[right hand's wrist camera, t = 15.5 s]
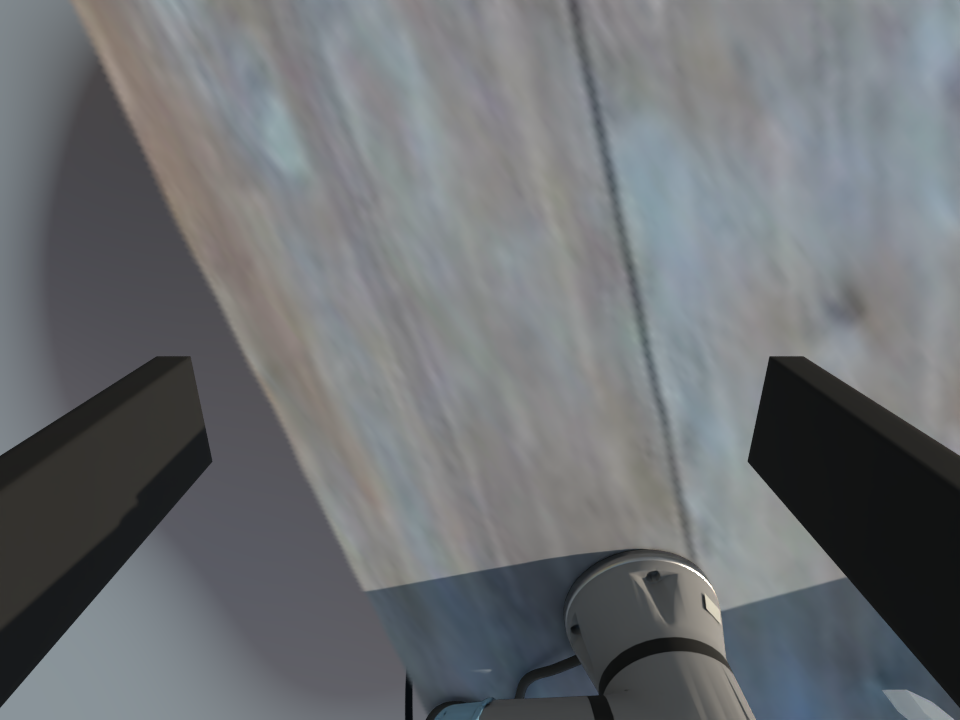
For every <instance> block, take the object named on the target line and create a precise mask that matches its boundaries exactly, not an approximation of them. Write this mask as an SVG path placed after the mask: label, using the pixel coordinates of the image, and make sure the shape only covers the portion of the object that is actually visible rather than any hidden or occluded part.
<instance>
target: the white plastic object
mask: <svg viewBox="0 0 960 720" xmlns="http://www.w3.org/2000/svg"><path fill="white" fill-rule="evenodd" d="M882 691H883V692H884V694H885V695H886V696H887V697H888V699H889V700H890V701H891V703H892V704H893V705H894V707H895V708H896V709H897V711H898V712H899V713H901V714H902V715H903V716H904V717H905V718H907V719H908V720H954V719H953V718H952V717H950V716H949V715H948V714H947V713H945V712H944V711H943V710H942V709H940V708H939V707H938V706H937V705H935V704H934V703H933V702H931V701H929V700H927V699H925V698H923V697H921V696H919V695H917V694H914V693H912V692H910V691H908V690H882Z"/></svg>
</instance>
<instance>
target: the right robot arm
mask: <svg viewBox="0 0 960 720" xmlns="http://www.w3.org/2000/svg"><path fill="white" fill-rule="evenodd" d="M211 463H212V457H211V453H210V448H209V443H208V438H207V433H206V429H205V424H204V419H203V414H202V410H201V405H200V400H199V395H198V391H197V386H196V381H195V376H194V371H193V367H192V362H191V357H190V356H187V357H186V356H184V357H183V356H173V357H172V356H164V357H163V356H159V357H158V356H157V357H155V358H153V359H152V360H150V361H149V362H147V363H146V364H144V365H142V366H141V367H139V368H138V369H136V370H135V371H133V372H131V373H130V374H128V375H127V376H125V377H124V378H122V379H120V380H119V381H117V382H116V383H114V384H112V385H111V386H109V387H108V388H106V389H105V390H103V391H101V392H100V393H98V394H97V395H95V396H94V397H92V398H90V399H89V400H87V401H86V402H84V403H83V404H81V405H80V406H78V407H76V408H75V409H73V410H72V411H70V412H68V413H67V414H65V415H64V416H62V417H61V418H59V419H57V420H56V421H54V422H53V423H51V424H50V425H48V426H46V427H45V428H43V429H42V430H40V431H39V432H37V433H35V434H34V435H32V436H31V437H29V438H28V439H26V440H24V441H23V442H21V443H20V444H18V445H17V446H15V447H13V448H12V449H10V450H9V451H7V452H6V453H4V454H2V455H1V456H0V707H1V706H2V705H3V704H4V703H5V702H6V700H7V699H8V698H9V697H10V696H11V695H12V693H13V692H14V691H15V690H16V689H17V688H18V686H19V685H20V684H21V683H22V682H23V681H24V680H25V678H26V677H27V676H28V675H29V674H30V673H31V671H32V670H33V669H34V668H35V667H36V666H37V664H38V663H39V662H40V661H41V660H42V659H43V657H44V656H45V655H46V654H47V653H48V652H49V651H50V649H51V648H52V647H53V646H54V645H55V644H56V642H57V641H58V640H59V639H60V638H61V637H62V635H63V634H64V633H65V632H66V631H67V630H68V628H69V627H70V626H71V625H72V624H73V623H74V622H75V620H76V619H77V618H78V617H79V616H80V615H81V613H82V612H83V611H84V610H85V609H86V608H87V606H88V605H89V604H90V603H91V602H92V601H93V599H94V598H95V597H96V596H97V595H98V594H99V593H100V591H101V590H102V589H103V588H104V587H105V585H106V584H107V583H108V582H109V581H110V580H111V579H112V577H113V576H114V575H115V574H116V573H117V572H118V570H119V569H120V568H121V567H122V566H123V565H124V563H125V562H126V561H127V560H128V559H129V558H130V556H131V555H132V554H133V553H134V552H135V551H136V549H137V548H138V547H139V546H140V545H141V544H142V543H143V541H144V540H145V539H146V538H147V537H148V536H149V534H150V533H151V532H152V531H153V530H154V529H155V528H156V526H157V525H158V524H159V523H160V522H161V521H162V519H163V518H164V517H165V516H166V515H167V514H168V512H169V511H170V510H171V509H172V508H173V507H174V505H175V504H176V503H177V502H178V501H179V500H180V499H181V497H182V496H183V495H184V494H185V493H186V492H187V490H188V489H189V488H190V487H191V486H192V485H193V483H194V482H195V481H196V480H197V479H198V478H199V476H200V475H201V474H202V473H203V472H204V471H205V470H206V468H207V467H208V466H209V465H210V464H211ZM748 463H749V464H750V465H751V466H752V467H753V468H754V470H755V471H756V472H757V473H758V474H759V475H760V476H761V478H762V479H763V480H764V481H765V482H766V483H767V485H768V486H769V487H770V488H771V489H772V490H773V492H774V493H775V494H776V495H777V496H778V497H779V499H780V500H781V501H782V502H783V503H784V504H785V505H786V507H787V508H788V509H789V510H790V511H791V512H792V514H793V515H794V516H795V517H796V518H797V519H798V521H799V522H800V523H801V524H802V525H803V526H804V528H805V529H806V530H807V531H808V532H809V533H810V534H811V536H812V537H813V538H814V539H815V540H816V541H817V543H818V544H819V545H820V546H821V547H822V548H823V550H824V551H825V552H826V553H827V554H828V555H829V557H830V558H831V559H832V560H833V561H834V562H835V564H836V565H837V566H838V567H839V568H840V569H841V570H842V572H843V573H844V574H845V575H846V576H847V577H848V579H849V580H850V581H851V582H852V583H853V584H854V586H855V587H856V588H857V589H858V590H859V591H860V593H861V594H862V595H863V596H864V597H865V598H866V599H867V601H868V602H869V603H870V604H871V605H872V606H873V608H874V609H875V610H876V611H877V612H878V613H879V615H880V616H881V617H882V618H883V619H884V620H885V622H886V623H887V624H888V625H889V626H890V627H891V628H892V630H893V631H894V632H895V633H896V634H897V635H898V637H899V638H900V639H901V640H902V641H903V642H904V644H905V645H906V646H907V647H908V648H909V649H910V651H911V652H912V653H913V654H914V655H915V656H916V657H917V659H918V660H919V661H920V662H921V663H922V664H923V666H924V667H925V668H926V669H927V670H928V671H929V673H930V674H931V675H932V676H933V677H934V678H935V680H936V681H937V682H938V683H939V684H940V685H941V687H942V688H943V689H944V690H945V691H946V692H947V693H948V695H949V696H950V697H951V698H952V699H953V700H954V702H955V703H956V704H957V705H958V706H959V707H960V456H959V455H958V454H956V453H955V452H953V451H951V450H950V449H948V448H947V447H945V446H943V445H942V444H940V443H939V442H937V441H936V440H934V439H932V438H931V437H929V436H928V435H926V434H925V433H923V432H921V431H920V430H918V429H917V428H915V427H914V426H912V425H910V424H909V423H907V422H906V421H904V420H903V419H901V418H899V417H898V416H896V415H895V414H893V413H892V412H890V411H888V410H887V409H885V408H884V407H882V406H881V405H879V404H877V403H876V402H874V401H873V400H871V399H870V398H868V397H866V396H865V395H863V394H862V393H860V392H859V391H857V390H855V389H854V388H852V387H851V386H849V385H848V384H846V383H844V382H843V381H841V380H840V379H838V378H836V377H835V376H833V375H832V374H830V373H829V372H827V371H825V370H824V369H822V368H821V367H819V366H818V365H816V364H814V363H813V362H811V361H810V360H808V359H807V358H805V357H803V356H770V357H769V362H768V367H767V371H766V376H765V381H764V386H763V390H762V395H761V400H760V405H759V410H758V414H757V419H756V424H755V429H754V433H753V438H752V443H751V448H750V453H749V457H748ZM564 621H565V627H566V632H567V636H568V639H569V641H570V644H571V646H572V649H573V650H574V652H575V654H576V655H575V656H572V657H570V658H568V659H565V660H563V661H560V662H558V663H555V664H553V665H550V666H546V667H542V668H538V669H535V670H533V671H531V672H529V673H527V674H526V675H525V676H524V677H523V678H522V679H521V680H520V682H519V685H518V688H517V691H516V696H515V699H503V700H496V699H494V698H487V699H485V700H483V701H481V702H473V703H466V702H459V701H452V702H446V703H443V704H441V705H439V706H437V707H436V708H435V709H433V710H432V711H431V713H430V714H429V715H428V717H427V718H426V720H756V719H755V717H754V715H753V713H752V711H751V709H750V707H749V705H748V703H747V701H746V699H745V697H744V695H743V693H742V691H741V689H740V686H739V684H738V682H737V680H736V679H735V677H734V675H733V672H732V670H731V668H730V666H729V664H728V662H727V660H726V653H725V644H724V635H723V627H722V618H721V610H720V606H719V603H718V599H717V596H716V594H715V592H714V590H713V588H712V586H711V584H710V582H709V580H708V579H707V577H706V576H705V574H704V573H703V572H702V571H701V570H700V569H699V568H698V567H697V566H696V565H695V564H693V563H692V562H690V561H689V560H687V559H685V558H683V557H681V556H678V555H676V554H673V553H669V552H665V551H659V550H635V551H628V552H623V553H620V554H616V555H613V556H611V557H608V558H606V559H604V560H602V561H600V562H598V563H596V564H595V565H593V566H592V567H590V568H589V569H588V570H586V571H585V572H584V573H583V574H582V575H581V576H580V577H579V578H578V579H577V580H576V581H575V583H574V584H573V586H572V587H571V589H570V591H569V592H568V595H567V597H566V601H565V605H564ZM581 664H582V666H583V667H584V669H585V671H586V672H587V674H588V676H589V677H590V679H591V681H592V683H593V684H594V686H595V688H596V689H597V691H598V694H599V695H598V696H574V697H556V698H529V699H524V696H525V692H526V689H527V687H528V686H529V685H530V684H531V683H532V682H534V681H535V680H538V679H540V678H544V677H548V676H552V675H555V674H558V673H561V672H563V671H566V670H568V669H571V668H573V667H576V666H578V665H581ZM405 720H413V684H412V682H411V680H410V678H409V676H408V674H407V672H406V683H405Z"/></svg>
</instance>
